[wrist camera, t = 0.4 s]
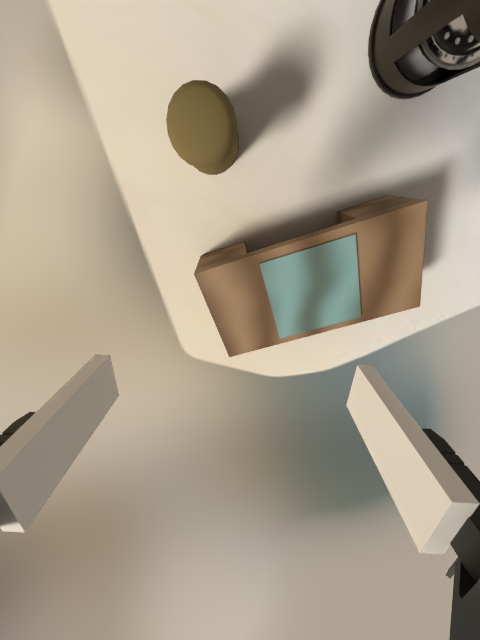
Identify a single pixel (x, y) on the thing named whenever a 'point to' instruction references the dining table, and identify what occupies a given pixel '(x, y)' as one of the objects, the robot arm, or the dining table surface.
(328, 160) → the dining table surface
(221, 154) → the cork
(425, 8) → the french press
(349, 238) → the wooden block
